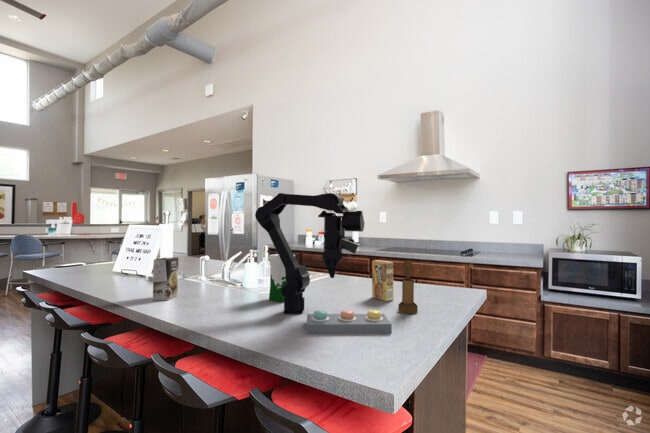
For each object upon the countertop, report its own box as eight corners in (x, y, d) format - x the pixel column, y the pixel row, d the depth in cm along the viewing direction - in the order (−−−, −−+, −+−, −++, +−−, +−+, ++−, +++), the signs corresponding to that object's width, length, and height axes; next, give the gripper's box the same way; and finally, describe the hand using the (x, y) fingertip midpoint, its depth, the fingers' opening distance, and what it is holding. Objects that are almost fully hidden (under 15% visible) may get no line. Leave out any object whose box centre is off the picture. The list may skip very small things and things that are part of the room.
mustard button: (368, 319, 101) (368, 313, 101) (366, 315, 105) (366, 310, 105) (382, 319, 101) (382, 313, 101) (379, 315, 105) (379, 310, 105)
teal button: (313, 319, 101) (313, 313, 101) (313, 315, 105) (313, 310, 105) (327, 319, 101) (327, 313, 101) (326, 315, 105) (326, 310, 105)
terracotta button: (341, 319, 101) (341, 313, 101) (340, 315, 105) (340, 310, 105) (354, 319, 101) (354, 313, 101) (353, 315, 105) (353, 310, 105)
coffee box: (168, 300, 136) (168, 259, 136) (152, 300, 136) (152, 259, 136) (178, 295, 145) (179, 257, 145) (163, 295, 145) (163, 257, 145)
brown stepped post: (414, 314, 117) (414, 261, 117) (395, 312, 120) (395, 260, 121) (419, 310, 123) (419, 259, 123) (402, 308, 126) (402, 258, 126)
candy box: (394, 300, 139) (394, 261, 139) (386, 301, 136) (386, 262, 137) (379, 296, 146) (379, 259, 146) (371, 297, 144) (371, 260, 144)
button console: (306, 333, 97) (306, 323, 97) (307, 322, 108) (307, 313, 108) (391, 333, 98) (391, 323, 98) (383, 321, 109) (383, 313, 109)
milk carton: (282, 303, 133) (282, 250, 133) (265, 299, 138) (265, 249, 138) (297, 299, 140) (297, 249, 140) (280, 296, 145) (280, 248, 146)
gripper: (358, 232, 107) (358, 283, 106) (355, 230, 125) (354, 273, 125) (322, 231, 107) (322, 282, 107) (324, 230, 126) (324, 273, 125)
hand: (332, 277), depth 116 cm, fingers closed
